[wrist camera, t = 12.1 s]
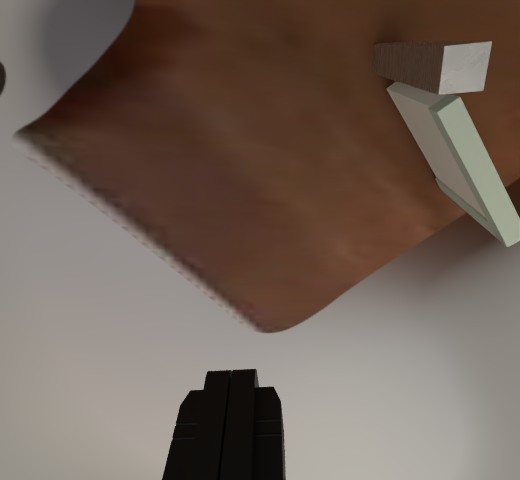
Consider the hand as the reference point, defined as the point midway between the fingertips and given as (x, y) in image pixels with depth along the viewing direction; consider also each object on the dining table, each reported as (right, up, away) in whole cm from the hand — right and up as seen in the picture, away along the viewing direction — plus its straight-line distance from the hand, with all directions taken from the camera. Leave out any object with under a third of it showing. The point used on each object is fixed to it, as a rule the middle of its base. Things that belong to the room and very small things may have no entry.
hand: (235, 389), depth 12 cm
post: (+13, +22, +24) cm, 35 cm away
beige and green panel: (+17, +15, +26) cm, 35 cm away
